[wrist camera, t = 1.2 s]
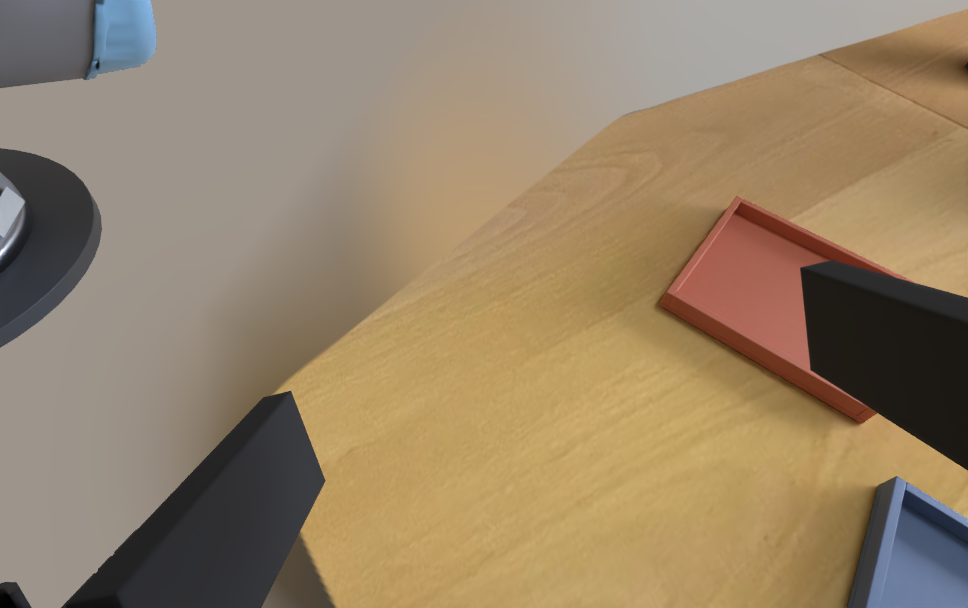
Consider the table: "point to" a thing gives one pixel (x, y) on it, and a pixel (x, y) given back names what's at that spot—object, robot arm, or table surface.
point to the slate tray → (912, 552)
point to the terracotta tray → (762, 294)
